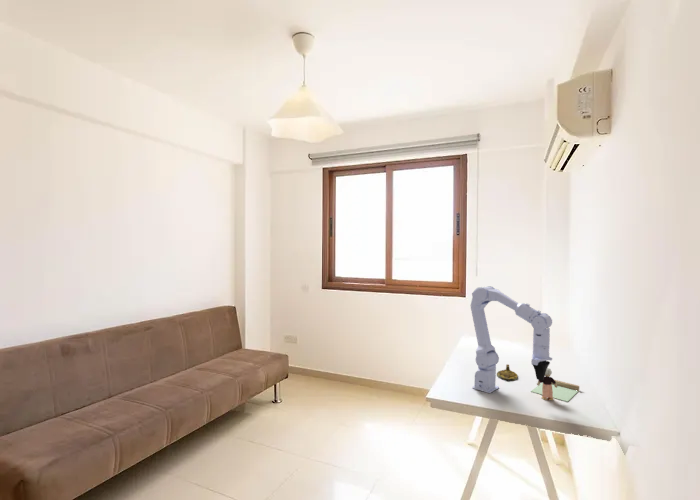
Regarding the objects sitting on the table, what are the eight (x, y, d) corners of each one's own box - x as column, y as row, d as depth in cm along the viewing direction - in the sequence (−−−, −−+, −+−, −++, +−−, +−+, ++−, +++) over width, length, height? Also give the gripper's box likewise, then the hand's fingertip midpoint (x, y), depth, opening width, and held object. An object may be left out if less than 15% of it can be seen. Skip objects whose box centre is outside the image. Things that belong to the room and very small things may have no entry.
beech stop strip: (578, 391, 159) (578, 386, 159) (543, 382, 169) (543, 378, 169) (579, 390, 160) (579, 385, 160) (544, 381, 170) (544, 377, 170)
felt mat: (567, 402, 147) (567, 401, 147) (530, 391, 157) (530, 391, 157) (578, 391, 159) (578, 390, 159) (543, 382, 169) (543, 382, 169)
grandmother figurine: (552, 397, 152) (553, 366, 152) (558, 400, 148) (559, 369, 148) (534, 396, 152) (535, 366, 152) (539, 400, 148) (540, 369, 148)
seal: (518, 385, 168) (516, 374, 182) (519, 375, 168) (518, 365, 181) (496, 380, 171) (496, 370, 185) (497, 370, 171) (498, 361, 185)
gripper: (546, 350, 136) (545, 387, 136) (558, 343, 146) (557, 377, 147) (526, 346, 141) (525, 381, 141) (539, 340, 151) (538, 373, 152)
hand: (540, 379), depth 144 cm, fingers closed
